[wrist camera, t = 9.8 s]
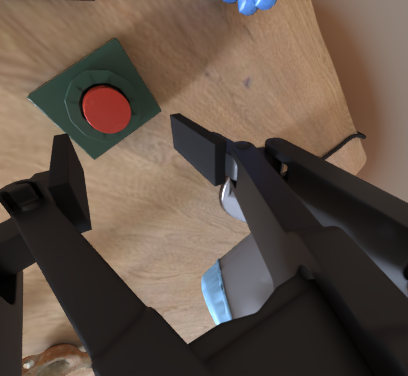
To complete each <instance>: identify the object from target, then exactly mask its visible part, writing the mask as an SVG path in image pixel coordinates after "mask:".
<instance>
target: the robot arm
mask: <svg viewBox="0 0 408 376" xmlns="http://www.w3.org/2000/svg"><path fill="white" fill-rule="evenodd" d="M170 119H171V127H172V135H173V143H174V149H176V150H177V151H178V152H179V153H180V154H181V155H182V156H183V157H184V158H185V159H186V160H187V161H188V162H189V163H190V164H191V165H193V166H194V167H195V168H196V169H197V170H198V171H199V172H200V173H201V174H202V175H203V176H204V177H205V178H206V179H207V180H208V181H210V182H211V183H212V184H213V185H214V186H218V185H221V184H222V186H221V189H220V195H219V199H220V204H221V206H222V208H223V209H224V210H225V211H226V212H227V213H228V214H229V215H231V216H232V217H234V218H236V219H239V220H241V221H243V222H245V223H247V224H248V226H249V229H250V231H251V233H250V234H249V235H248V236H247V237H245V238H244V239H243V240H242V241H241V242H239V243H238V244H237V245H236V246H235V247H233V248H232V249H231V250H230V251H229V252H228V253H226V254H225V255H224V256H223V257H222V258H220V259H218V260H217V262H216V263H215V264H214V265H213V266H212V267H211V268H209V269H208V270H207V271H206V272H205V273H204V275H203V277H202V281H201V285H202V291H203V295H204V298H205V301H206V304H207V306H208V308H209V311H210V313H211V315H212V317H213V319H214V321H215V323H216V325H217V326H215V327H214V328H212V329H211V330H209V331H208V332H206V333H204V334H203V335H201V336H200V337H198V338H197V339H195V340H194V341H192V342H191V343H189V344H187V343H186V342H185V341H184V340H183V339H182V338H181V337H180V336H179V335H178V334H177V332H176V331H175V330H174V329H173V328H172V327H171V326H170V325H169V324H168V323H167V322H166V320H165V319H164V318H163V317H162V316H161V315H160V314H159V313H158V312H157V311H156V310H155V309H153V308H152V307H147V306H146V305H145V304H144V303H143V302H142V301H141V300H140V299H139V298H138V297H137V296H136V295H135V293H134V292H133V291H132V290H131V289H130V288H129V287H128V286H127V284H126V283H125V282H124V281H123V280H122V279H121V278H120V277H119V276H118V274H117V273H116V272H115V271H114V270H113V269H112V268H111V267H110V266H109V264H108V263H107V262H106V261H105V260H104V259H103V258H102V257H101V255H100V254H99V253H98V252H97V251H96V250H95V249H94V248H93V247H92V245H91V244H90V243H89V242H88V241H87V240H86V239H85V238H84V237H83V235H82V234H81V233H83V232H86V231H89V230H92V227H91V220H90V213H89V206H88V199H87V192H86V185H85V178H84V171H83V168H82V166H81V163H80V161H79V159H78V156H77V154H76V152H75V149H74V147H73V145H72V142H71V140H70V138H69V135H68V133H67V134H61V135H55V136H54V139H53V147H52V155H51V162H50V170H49V171H45V172H41V173H36V174H34V175H33V176H32V177H31V178H30V179H25V180H20V181H16V182H13V183H11V184H9V185H6V186H5V187H3V188H2V189H0V203H1V204H2V205H3V206H4V208H5V209H6V210H7V212H8V213H9V214H10V216H11V218H10V219H8V220H6V221H4V222H2V223H0V376H22V329H23V269H25V268H27V267H29V266H30V265H32V264H34V263H35V262H37V264H38V266H39V268H40V269H41V271H42V273H43V275H44V276H45V278H46V280H47V282H48V284H49V285H50V287H51V289H52V291H53V292H54V294H55V296H56V298H57V300H58V301H59V303H60V305H61V307H62V308H63V310H64V312H65V314H66V316H67V317H68V319H69V321H70V323H71V324H72V326H73V328H74V330H75V332H76V333H77V335H78V337H79V339H80V340H81V342H82V344H83V346H84V348H85V349H86V351H87V353H88V355H89V357H90V359H91V361H92V364H91V366H92V369H93V372H94V374H95V376H408V203H407V202H405V201H403V200H401V199H399V198H397V197H395V196H393V195H391V194H389V193H387V192H385V191H383V190H381V189H379V188H378V187H376V186H374V185H372V184H370V183H368V182H366V181H364V180H362V179H360V178H358V177H356V176H354V175H352V174H350V173H348V172H346V171H344V170H343V169H341V168H339V167H337V166H335V165H333V164H331V163H329V162H327V161H325V159H327V158H328V157H329V156H331V155H332V154H333V153H335V152H336V151H337V150H339V149H340V148H341V147H342V146H344V145H345V144H346V143H347V142H348V141H350V140H351V139H353V138H356V137H358V138H362V139H365V138H366V136H365V135H364V134H362V133H360V132H358V131H357V133H358V134H354V135H352V136H350V137H348V138H347V139H345V140H344V141H343V142H342V143H341V144H339V145H338V146H337V147H336V148H334V149H333V150H332V151H330V152H329V153H328V154H326V155H325V156H324V157H322V158H319V157H317V156H315V155H313V154H311V153H310V152H308V151H306V150H304V149H302V148H300V147H298V146H296V145H294V144H292V143H290V142H288V141H286V140H284V139H280V138H270V139H267V140H266V141H265V147H259V148H256V147H255V146H254V145H253V144H252V143H250V142H245V141H239V142H233V141H231V140H229V139H228V138H226V137H223V136H222V135H221V134H219V133H215V132H210V131H208V130H207V129H205V128H203V127H202V126H200V125H198V124H197V123H195V122H193V121H191V120H190V119H188V118H186V117H185V116H183V115H181V114H180V113H177V114H172V115H170ZM284 164H286V165H287V166H288V168H287V171H286V172H284V173H282V171H283V167H284ZM226 175H227V176H226Z"/></svg>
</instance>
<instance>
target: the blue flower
mask: <svg viewBox="0 0 408 376" xmlns="http://www.w3.org/2000/svg"><path fill="white" fill-rule="evenodd" d="M223 1H224V2H226V3H229V4H232V3H236V1H237V0H223ZM276 1H277V0H238V9H239V12H240V13H242V14H243V15H247V16H248V15H253V14H254V13H255V12H256V11H257V9H261V10H268V9H270V8H271V7H272V6H273V5H275V3H276Z"/></svg>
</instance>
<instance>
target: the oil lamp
mask: <svg viewBox="0 0 408 376" xmlns="http://www.w3.org/2000/svg"><path fill="white" fill-rule="evenodd" d="M24 364H27V366H28V369H25V368H24V367H23V365H24ZM91 364H92V361H91V359H90V357H89V355H88V353H87V352H82V351H80V350H79V349H77V348H76V347H74V346H72V345H69V344H60V345H56V346H53V347H51V348H49V349H47V350H45V351H44V352H43V353H41V354H38V355H31V356H28V357H25V358H23V359H22V376H65V375H67V374H68V373H70V372H72V371H75V370H77V369H80V368H84V369H87V368H92V366H91Z"/></svg>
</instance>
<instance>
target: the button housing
mask: <svg viewBox="0 0 408 376" xmlns="http://www.w3.org/2000/svg"><path fill="white" fill-rule="evenodd" d="M96 86H109V87H112V88H114V89H116V90H117V91H118V92H120V93H121V94H122V95H123V96H124V97H125V98H126V100H127V101H128V103H129V105H130V109H131V118H130V121H129V123H128V125H127V126H126V127H125V128H124V129H123V130H121V131H119V132H116V133H104V132H101V131H99V130H97V129H95V128H94V127H93V126H91V125H90V123H89V122H88V121H87V119H86V117H85V114H84V111H83V98H84V96H85V94H86V93H87V92H88V91H89V90H90V89H91V88H93V87H96ZM27 98H28V99H29V100H30V101H31V102H33V103H34V104H35V105H36V106H37V107H38V108H39V109H40V110H41V111H42V112H43V113H44V114H45V115H47V116H48V117H49V118H50V119H51V120H52V121H53V122H54V123H55V124H56V125H57V126H58V127H59V128H61V129H62V130H63V131H64V132H65V133H66V134H67V133H68V135H69V137H70V138H71V139H72V140H73V141H75V142H76V143H77V144H78V145H79V146H80V147H81V148H82V149H83V150H84V151H85V152H86V153H87V154H89V155H90V156H91V157H92V158H93V159H94V160H95V159H96V158H98V157H99V156H100V155H102V154H103V153H104V152H106V151H107V150H109V149H110V148H111V147H113V146H114V145H115V144H117V143H118V142H120V141H121V140H122V139H124V138H125V137H127V136H128V135H129V134H131V133H132V132H133V131H135V130H136V129H137V128H139V127H140V126H142V125H143V124H144V123H146V122H147V121H148V120H150V119H151V118H153V117H154V116H155V115H157V114H158V113H159V112H161V109H160V107H159V106H158V104H157V102H156V101H155V99H154V98H153V96H152V94H151V93H150V91H149V89H148V88H147V86H146V85H145V83H144V81H143V80H142V78H141V77H140V75H139V73H138V72H137V70H136V69H135V67H134V65H133V64H132V62H131V61H130V59H129V57H128V56H127V54H126V52H125V51H124V49H123V48H122V46H121V44H120V43H119V41H118V40H117V38H113V39H111V40H110V41H108V42H107V43H105V44H104V45H102V46H101V47H99V48H98V49H96V50H94V51H93V52H91V53H90V54H88V55H87V56H85V57H84V58H82V59H81V60H79V61H78V62H76V63H75V64H73V65H72V66H70V67H69V68H67V69H66V70H64V71H63V72H61V73H60V74H58V75H57V76H55V77H54V78H52V79H51V80H49V81H48V82H46V83H45V84H43V85H42V86H40V87H39V88H37V89H36V90H34V91H33V92H31V93H30V94H29V95H28V97H27Z"/></svg>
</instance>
